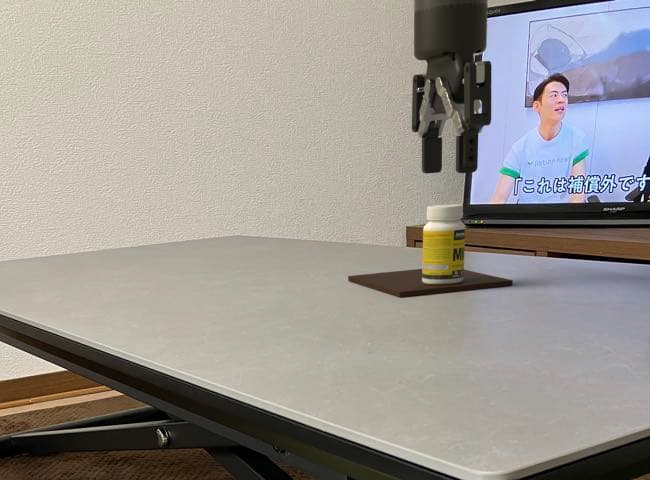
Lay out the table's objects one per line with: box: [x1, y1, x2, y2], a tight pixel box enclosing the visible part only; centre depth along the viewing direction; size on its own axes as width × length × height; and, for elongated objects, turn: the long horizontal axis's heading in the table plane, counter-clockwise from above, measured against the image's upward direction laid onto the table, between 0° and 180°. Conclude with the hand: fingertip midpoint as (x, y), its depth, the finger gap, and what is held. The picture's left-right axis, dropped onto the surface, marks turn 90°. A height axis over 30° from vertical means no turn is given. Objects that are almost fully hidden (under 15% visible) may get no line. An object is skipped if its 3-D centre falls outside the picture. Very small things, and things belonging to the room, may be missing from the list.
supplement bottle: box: [421, 203, 466, 285], centre depth 103 cm, size 5×5×8 cm
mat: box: [347, 268, 513, 298], centre depth 109 cm, size 14×16×1 cm
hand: (448, 172), depth 100 cm, fingers open, 8 cm apart
